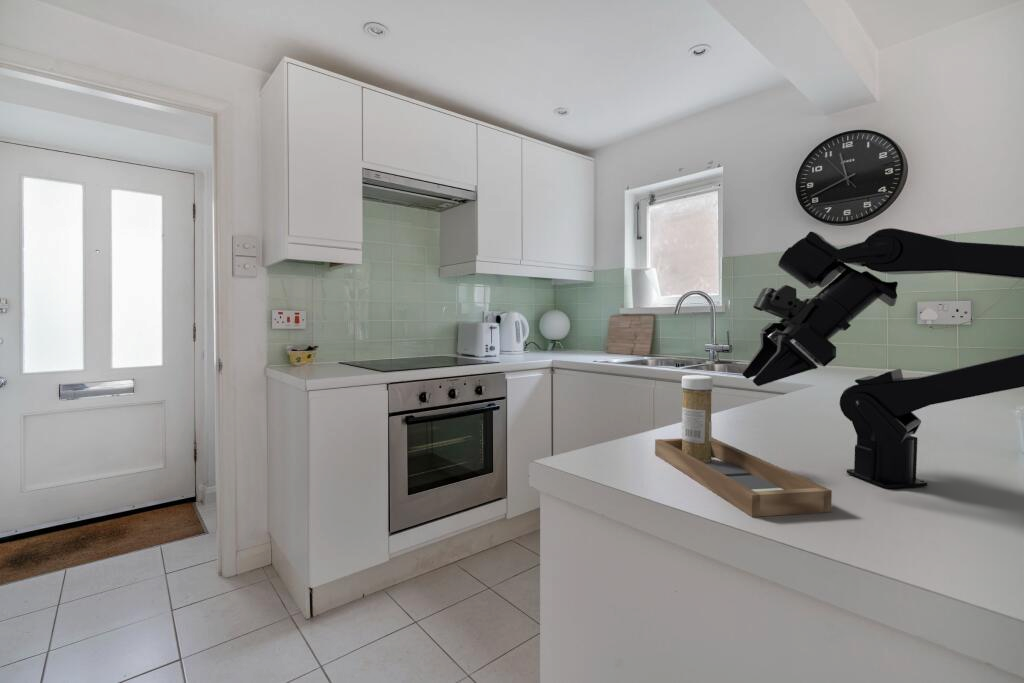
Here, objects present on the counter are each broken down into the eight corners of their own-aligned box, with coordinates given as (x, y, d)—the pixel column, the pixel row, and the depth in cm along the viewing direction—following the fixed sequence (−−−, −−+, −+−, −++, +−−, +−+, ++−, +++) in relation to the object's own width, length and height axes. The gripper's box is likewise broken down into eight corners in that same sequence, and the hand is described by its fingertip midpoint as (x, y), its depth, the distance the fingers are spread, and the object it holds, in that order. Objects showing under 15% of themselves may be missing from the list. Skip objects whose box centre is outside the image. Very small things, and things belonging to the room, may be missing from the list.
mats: (729, 464, 72) (729, 462, 72) (779, 490, 61) (779, 487, 61) (682, 467, 71) (682, 464, 71) (725, 493, 60) (725, 490, 60)
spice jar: (717, 461, 74) (719, 376, 73) (699, 466, 72) (701, 378, 71) (692, 454, 78) (693, 373, 77) (674, 459, 75) (675, 375, 75)
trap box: (711, 451, 79) (711, 437, 79) (831, 511, 55) (831, 490, 55) (655, 454, 78) (655, 439, 78) (751, 516, 53) (752, 495, 53)
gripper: (776, 274, 79) (704, 340, 82) (809, 261, 61) (716, 345, 65) (829, 321, 77) (753, 386, 80) (880, 321, 59) (779, 405, 63)
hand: (749, 379), depth 72 cm, fingers open, 9 cm apart
